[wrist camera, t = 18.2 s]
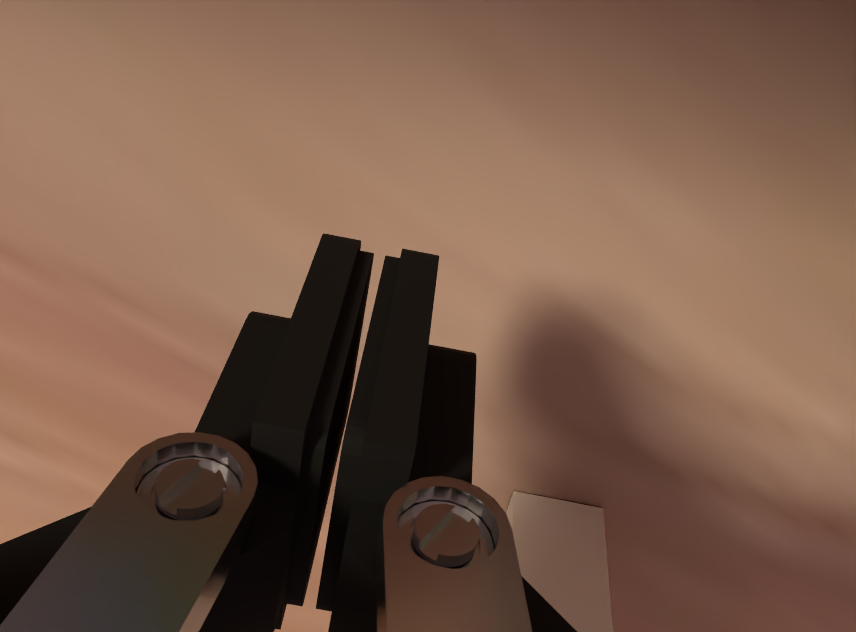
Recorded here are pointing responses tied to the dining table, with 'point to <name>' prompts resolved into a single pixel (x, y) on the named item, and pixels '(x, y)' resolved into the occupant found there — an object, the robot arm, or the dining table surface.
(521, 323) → the dining table surface
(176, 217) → the dining table surface
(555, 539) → the pair of cream posts
